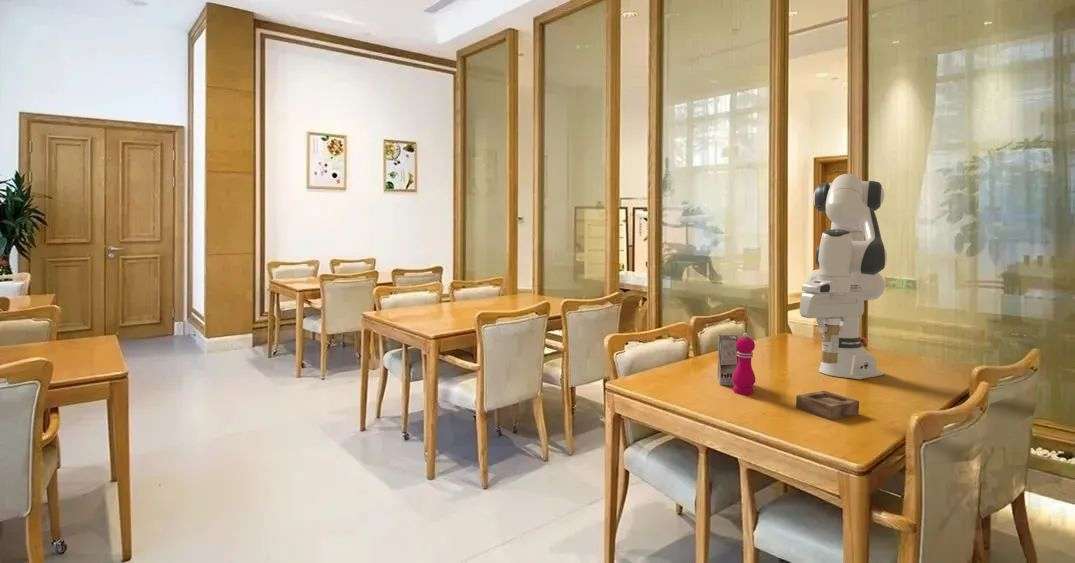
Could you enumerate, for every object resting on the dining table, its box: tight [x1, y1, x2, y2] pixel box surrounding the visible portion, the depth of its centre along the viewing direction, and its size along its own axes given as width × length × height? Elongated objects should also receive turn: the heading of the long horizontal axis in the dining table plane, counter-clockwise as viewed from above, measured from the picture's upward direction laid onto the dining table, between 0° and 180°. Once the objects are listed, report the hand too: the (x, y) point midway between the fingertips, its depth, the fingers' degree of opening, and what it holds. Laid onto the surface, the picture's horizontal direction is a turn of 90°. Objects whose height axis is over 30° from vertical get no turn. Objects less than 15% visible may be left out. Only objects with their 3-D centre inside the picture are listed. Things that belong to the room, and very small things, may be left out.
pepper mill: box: [732, 332, 756, 396], centre depth 198 cm, size 7×7×20 cm
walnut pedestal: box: [795, 390, 860, 421], centre depth 179 cm, size 12×12×4 cm
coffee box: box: [717, 334, 739, 387], centre depth 210 cm, size 9×6×16 cm
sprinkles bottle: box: [820, 317, 840, 364], centre depth 177 cm, size 5×5×13 cm
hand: (831, 332), depth 177 cm, fingers closed on sprinkles bottle, 4 cm apart
